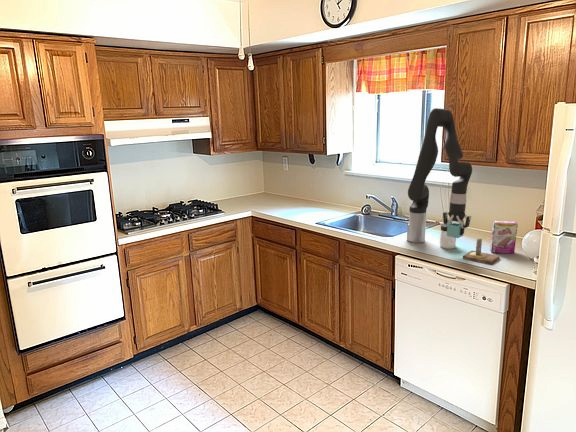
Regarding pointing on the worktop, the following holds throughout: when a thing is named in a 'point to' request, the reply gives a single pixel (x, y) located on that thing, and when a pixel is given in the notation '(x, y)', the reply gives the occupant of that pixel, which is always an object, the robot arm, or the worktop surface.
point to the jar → (446, 238)
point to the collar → (454, 230)
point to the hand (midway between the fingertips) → (455, 233)
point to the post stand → (480, 255)
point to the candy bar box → (503, 237)
